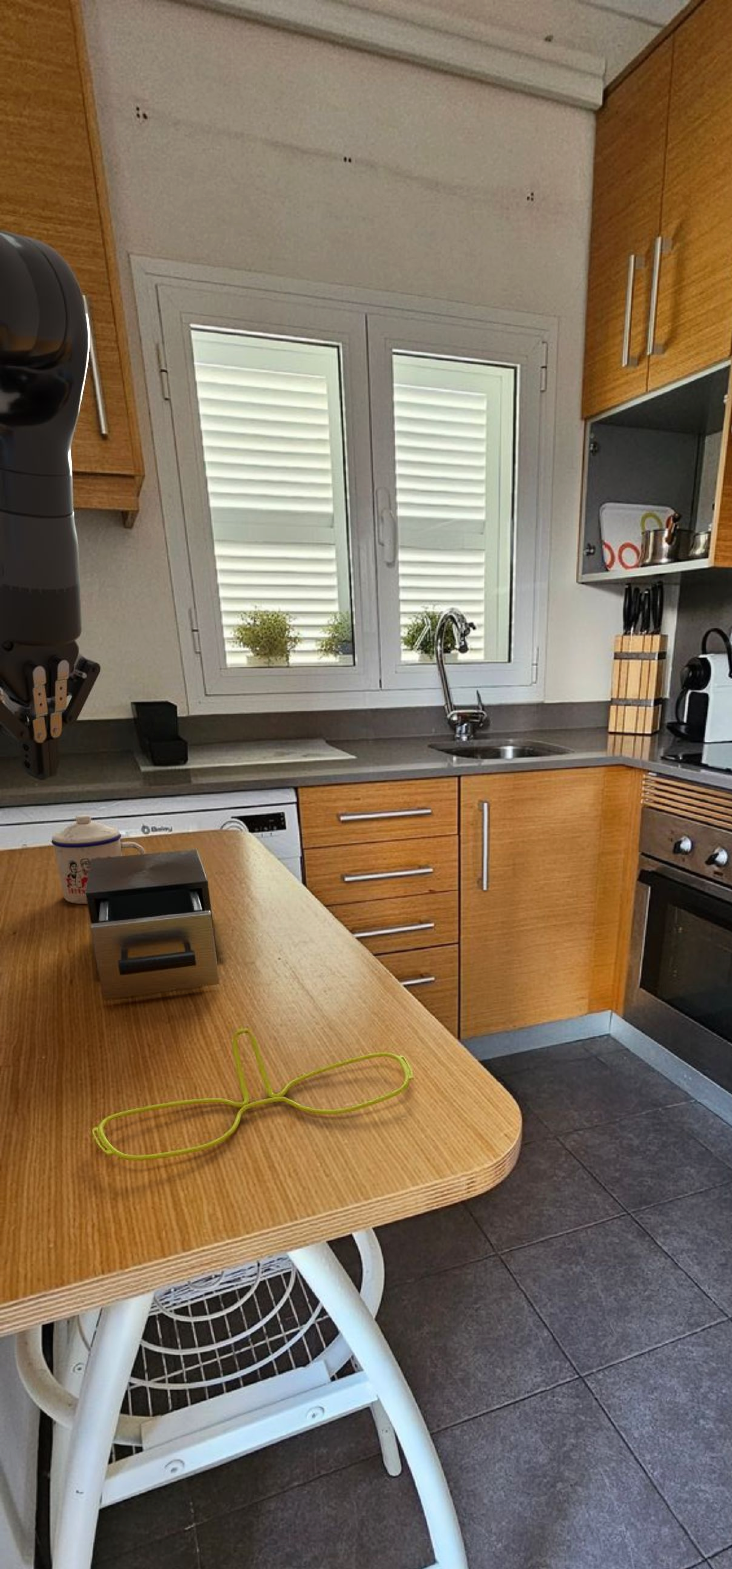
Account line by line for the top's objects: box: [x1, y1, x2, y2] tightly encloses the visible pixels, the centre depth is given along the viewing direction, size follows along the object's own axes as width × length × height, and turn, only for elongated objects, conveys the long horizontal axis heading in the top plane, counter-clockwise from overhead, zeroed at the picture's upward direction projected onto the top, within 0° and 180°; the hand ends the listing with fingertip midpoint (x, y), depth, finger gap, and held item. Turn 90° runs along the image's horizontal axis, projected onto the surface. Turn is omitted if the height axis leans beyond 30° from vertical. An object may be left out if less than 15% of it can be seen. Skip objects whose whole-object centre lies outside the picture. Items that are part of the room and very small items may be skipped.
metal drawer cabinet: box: [86, 848, 219, 962], centre depth 100 cm, size 16×13×10 cm
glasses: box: [91, 1028, 414, 1162], centre depth 66 cm, size 25×10×5 cm, turn 116°
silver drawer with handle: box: [89, 889, 221, 1001], centre depth 89 cm, size 19×11×8 cm, turn 20°
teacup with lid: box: [51, 814, 147, 905], centre depth 120 cm, size 12×9×12 cm
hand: (41, 775), depth 74 cm, fingers closed
